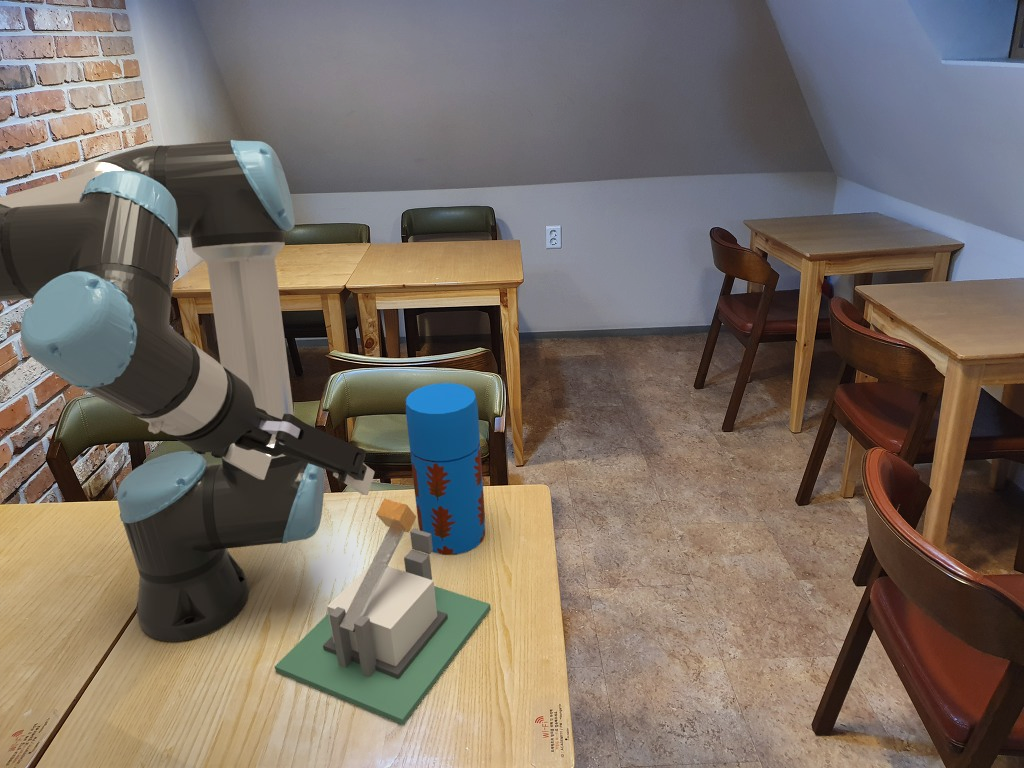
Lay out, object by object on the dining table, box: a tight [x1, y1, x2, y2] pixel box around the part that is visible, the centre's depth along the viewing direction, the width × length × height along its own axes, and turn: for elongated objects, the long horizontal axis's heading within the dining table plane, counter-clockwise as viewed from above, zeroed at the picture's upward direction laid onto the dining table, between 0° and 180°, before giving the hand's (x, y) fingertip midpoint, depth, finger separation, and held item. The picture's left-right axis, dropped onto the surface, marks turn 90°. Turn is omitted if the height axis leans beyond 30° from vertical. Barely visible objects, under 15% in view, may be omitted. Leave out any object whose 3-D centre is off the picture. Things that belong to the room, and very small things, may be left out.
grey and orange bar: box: [340, 498, 417, 633], centre depth 99 cm, size 4×16×4 cm
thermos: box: [405, 382, 486, 556], centre depth 121 cm, size 11×11×25 cm
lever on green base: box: [274, 528, 492, 726], centre depth 103 cm, size 20×22×11 cm
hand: (315, 475), depth 86 cm, fingers open, 13 cm apart
